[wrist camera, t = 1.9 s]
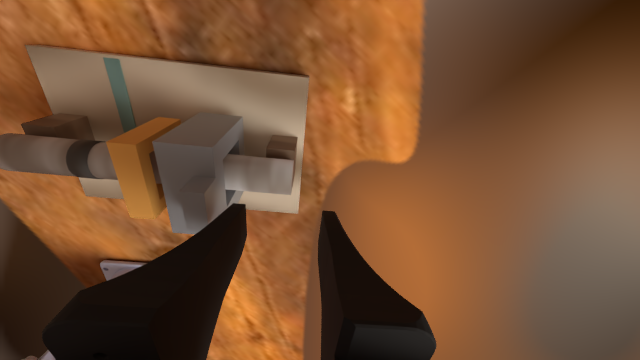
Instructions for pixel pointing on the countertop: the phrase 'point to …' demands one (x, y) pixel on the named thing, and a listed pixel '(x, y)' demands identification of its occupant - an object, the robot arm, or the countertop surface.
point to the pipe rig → (161, 101)
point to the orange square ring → (140, 167)
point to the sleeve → (198, 169)
